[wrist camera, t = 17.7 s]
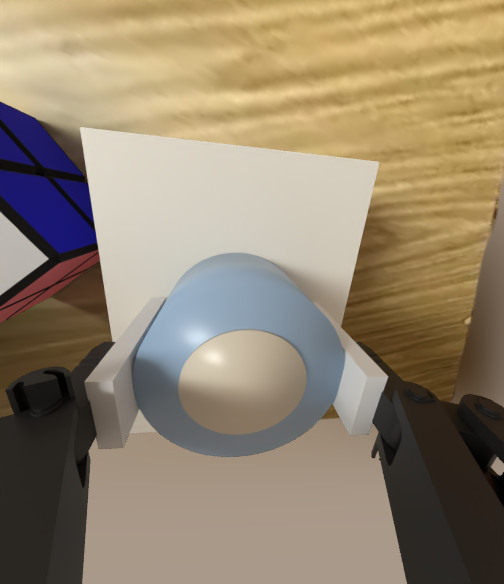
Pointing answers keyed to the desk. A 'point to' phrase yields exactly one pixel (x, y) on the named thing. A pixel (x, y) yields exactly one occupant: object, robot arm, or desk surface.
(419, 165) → the desk surface
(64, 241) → the puzzle cube
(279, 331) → the blue domed cylinder
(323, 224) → the hinged white flap
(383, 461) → the robot arm
